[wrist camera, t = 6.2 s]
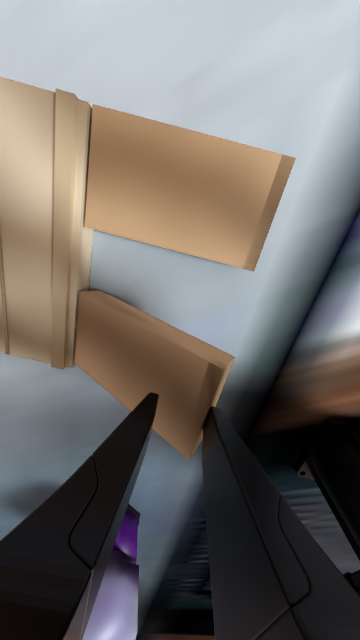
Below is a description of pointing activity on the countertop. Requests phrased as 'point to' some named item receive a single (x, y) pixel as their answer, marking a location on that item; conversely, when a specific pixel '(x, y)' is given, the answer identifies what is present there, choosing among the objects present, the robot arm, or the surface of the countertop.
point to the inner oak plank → (150, 366)
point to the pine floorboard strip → (43, 220)
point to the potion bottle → (118, 588)
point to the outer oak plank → (182, 188)
